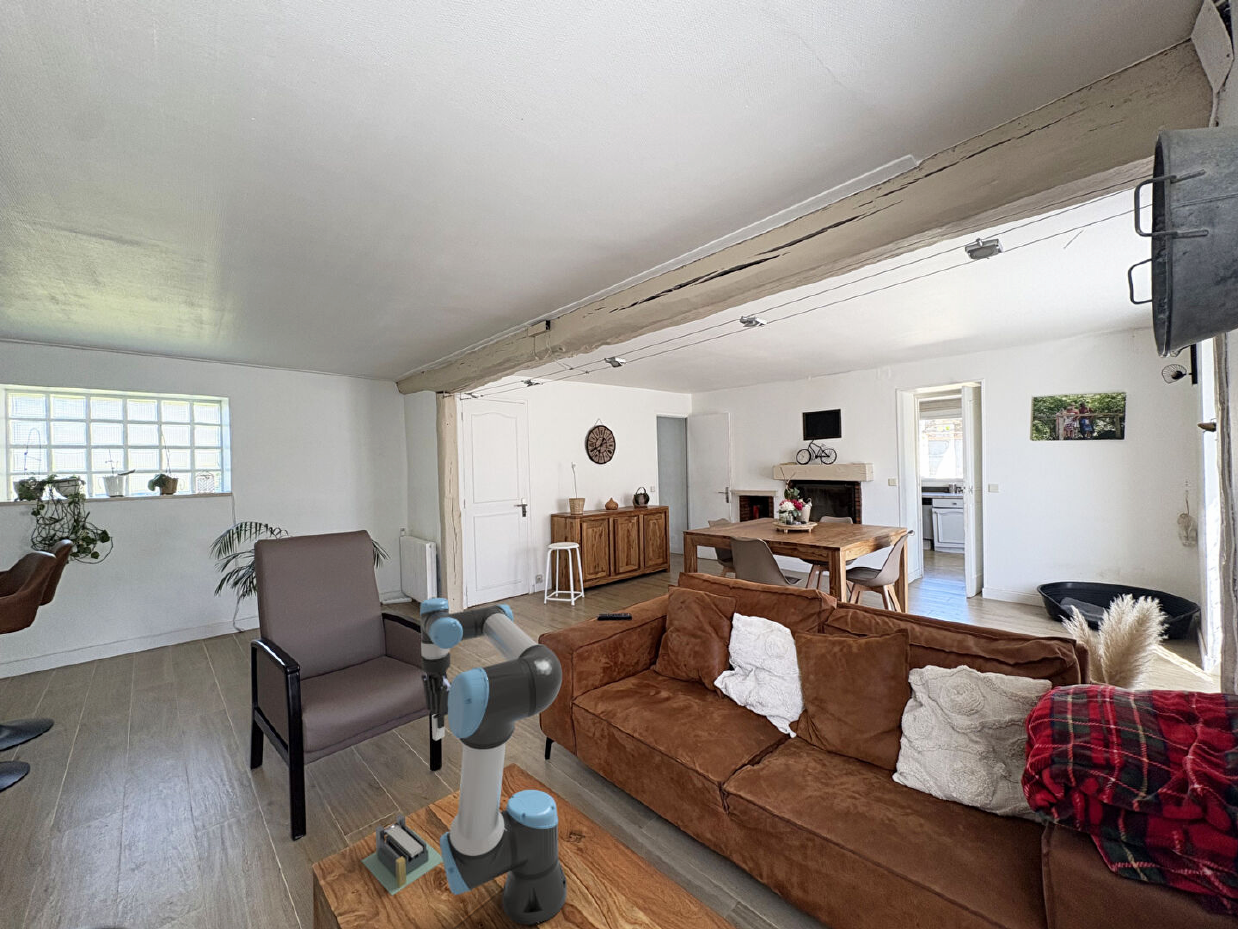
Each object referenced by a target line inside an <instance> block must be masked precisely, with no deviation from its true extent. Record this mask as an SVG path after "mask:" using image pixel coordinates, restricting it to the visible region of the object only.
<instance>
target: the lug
mask: <svg viewBox="0 0 1238 929" xmlns="http://www.w3.org/2000/svg"><path fill="white" fill-rule="evenodd" d="M396 882H397V885H398V887H399V888H400V887H402V886H403V885H405V884H406V865H405V859H404V858H403V857H400V858H398V859H397V860H396Z"/></svg>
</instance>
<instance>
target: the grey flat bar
mask: <svg viewBox="0 0 1238 929" xmlns="http://www.w3.org/2000/svg"><path fill="white" fill-rule="evenodd" d="M384 832H385V836H389V837H390V838H391V839H392V840H393V841H394V842H395V843H396V844H397V845H398V846H399V847H400V848H402V849H403V850H404V851H405V852H406V853H407V854H408V855H409V856H410V857H411V858H412V857H413V856H415V855H416V854H418V853H420V852H421V851H423V847H422V846H421V845H420V844H418V843H417V842H416V841H415V840H414V839H413V838H412V837H410V836H409V835H408V834H407V833H406V832H405V831H404V830H402V829H401V828H400V827H399V825H398V823H397V821H396V822H394V823H393V824H391V825H389V826H387V827H385V828H384Z"/></svg>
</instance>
